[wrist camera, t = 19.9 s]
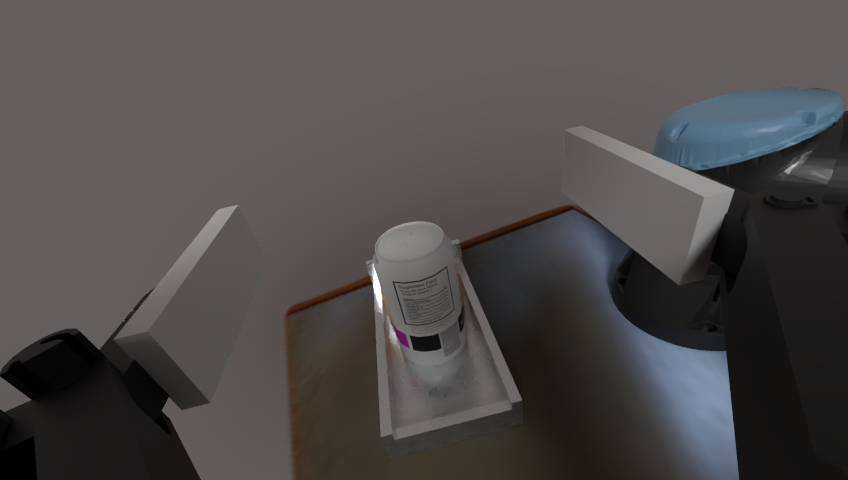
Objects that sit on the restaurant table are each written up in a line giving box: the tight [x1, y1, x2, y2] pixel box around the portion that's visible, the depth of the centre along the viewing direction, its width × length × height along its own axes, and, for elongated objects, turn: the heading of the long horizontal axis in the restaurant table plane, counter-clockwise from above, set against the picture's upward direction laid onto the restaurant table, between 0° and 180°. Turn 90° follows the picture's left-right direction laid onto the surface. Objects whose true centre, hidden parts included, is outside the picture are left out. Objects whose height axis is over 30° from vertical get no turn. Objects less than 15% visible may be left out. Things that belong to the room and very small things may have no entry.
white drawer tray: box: [366, 239, 523, 459], centre depth 40 cm, size 22×13×8 cm, turn 9°
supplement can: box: [373, 222, 467, 366], centre depth 38 cm, size 8×8×15 cm
